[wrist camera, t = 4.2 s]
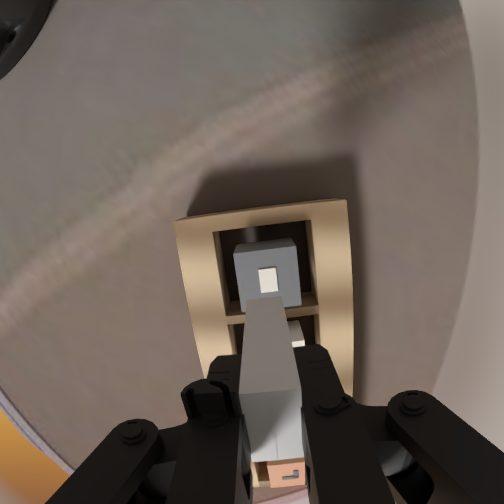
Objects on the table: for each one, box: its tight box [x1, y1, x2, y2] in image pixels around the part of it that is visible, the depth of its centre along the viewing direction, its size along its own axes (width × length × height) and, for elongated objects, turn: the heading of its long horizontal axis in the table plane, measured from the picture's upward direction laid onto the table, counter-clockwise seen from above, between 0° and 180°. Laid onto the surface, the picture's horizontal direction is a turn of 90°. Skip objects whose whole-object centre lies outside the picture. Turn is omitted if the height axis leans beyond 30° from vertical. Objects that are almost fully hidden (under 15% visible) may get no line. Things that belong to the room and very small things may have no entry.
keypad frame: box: [173, 198, 354, 487], centre depth 23 cm, size 26×11×3 cm, turn 7°
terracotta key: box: [267, 457, 305, 488], centre depth 23 cm, size 4×4×3 cm
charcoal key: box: [233, 238, 302, 312], centre depth 20 cm, size 4×4×3 cm
